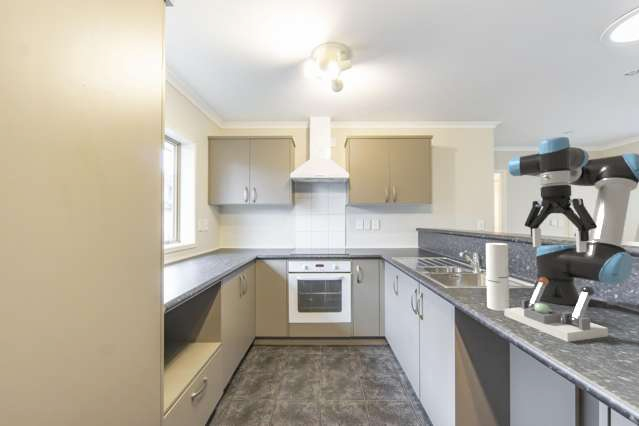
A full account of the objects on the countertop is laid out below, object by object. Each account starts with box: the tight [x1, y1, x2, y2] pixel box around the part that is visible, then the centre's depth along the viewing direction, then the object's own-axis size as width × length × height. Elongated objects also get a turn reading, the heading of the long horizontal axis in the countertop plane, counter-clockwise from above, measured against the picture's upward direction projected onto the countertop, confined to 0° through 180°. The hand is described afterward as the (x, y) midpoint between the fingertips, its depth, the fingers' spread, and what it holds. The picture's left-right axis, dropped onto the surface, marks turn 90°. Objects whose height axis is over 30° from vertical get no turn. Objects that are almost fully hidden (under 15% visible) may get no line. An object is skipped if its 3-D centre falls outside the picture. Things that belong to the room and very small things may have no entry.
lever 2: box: [567, 286, 595, 326], centre depth 78 cm, size 3×3×13 cm
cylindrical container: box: [485, 242, 510, 312], centre depth 101 cm, size 7×7×25 cm
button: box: [534, 302, 550, 314], centre depth 84 cm, size 4×4×3 cm
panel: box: [503, 298, 609, 343], centre depth 85 cm, size 15×20×6 cm
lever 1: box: [525, 277, 549, 308], centre depth 91 cm, size 3×3×13 cm
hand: (557, 249), depth 86 cm, fingers open, 13 cm apart
